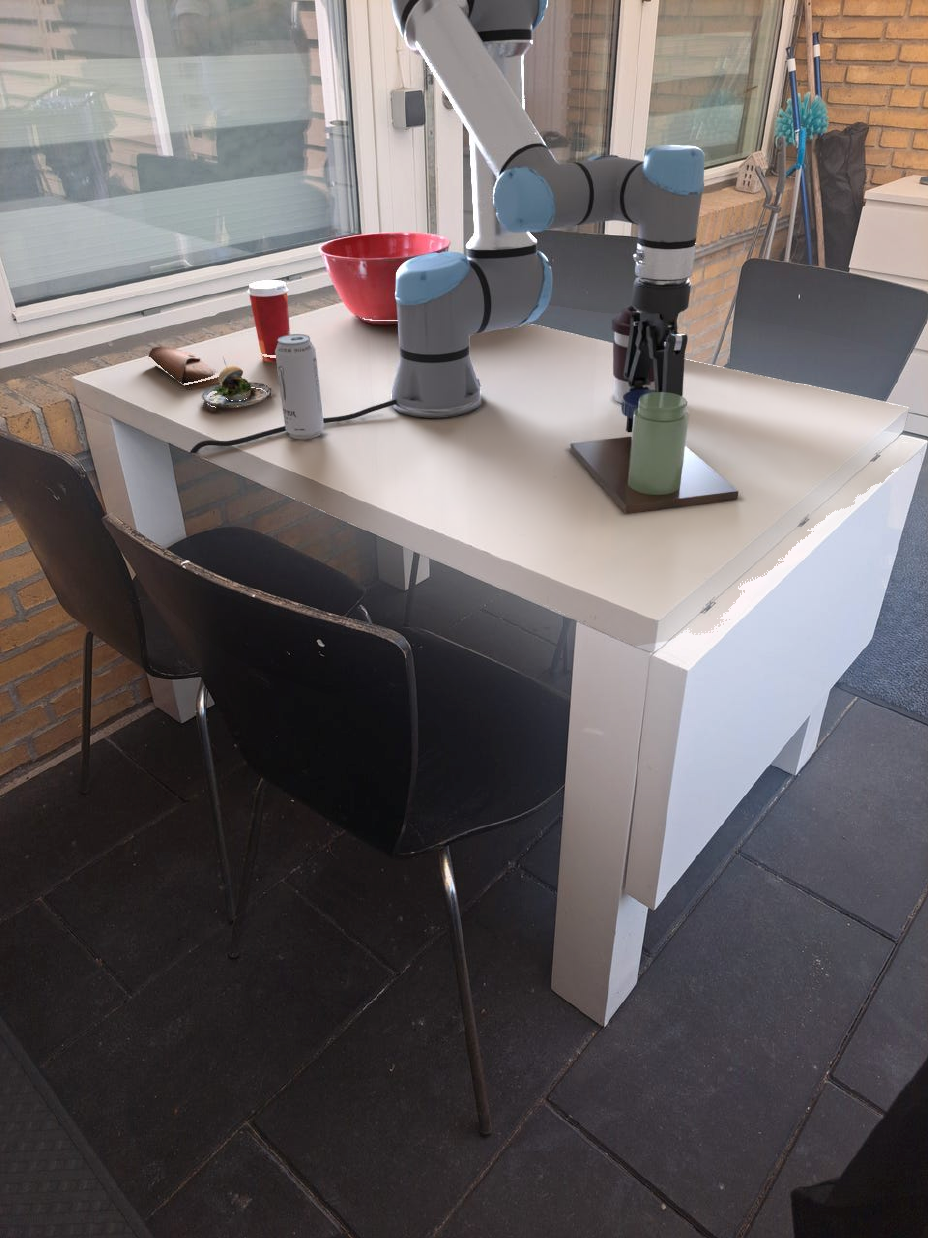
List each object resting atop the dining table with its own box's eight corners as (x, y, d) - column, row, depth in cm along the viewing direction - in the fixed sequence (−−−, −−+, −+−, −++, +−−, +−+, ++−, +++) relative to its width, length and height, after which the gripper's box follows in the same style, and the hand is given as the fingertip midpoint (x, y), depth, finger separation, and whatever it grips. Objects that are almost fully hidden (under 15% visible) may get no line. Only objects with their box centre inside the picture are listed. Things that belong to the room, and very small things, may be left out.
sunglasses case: (228, 378, 165) (205, 350, 160) (200, 404, 164) (176, 377, 159) (190, 356, 177) (168, 329, 172) (164, 380, 176) (141, 354, 171)
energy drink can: (282, 430, 144) (269, 336, 136) (318, 424, 146) (308, 330, 138) (291, 443, 139) (278, 346, 131) (329, 436, 141) (318, 340, 133)
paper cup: (304, 355, 177) (296, 281, 170) (278, 366, 172) (268, 290, 164) (275, 350, 181) (265, 277, 173) (248, 360, 176) (237, 285, 168)
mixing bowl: (309, 332, 191) (300, 255, 183) (346, 299, 215) (339, 229, 206) (439, 336, 187) (436, 257, 179) (462, 301, 211) (460, 231, 202)
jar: (639, 498, 118) (648, 411, 112) (619, 476, 124) (626, 393, 117) (689, 491, 119) (700, 406, 113) (667, 471, 125) (676, 388, 119)
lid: (678, 405, 131) (679, 391, 130) (672, 424, 125) (674, 409, 124) (625, 400, 133) (626, 386, 132) (617, 418, 127) (618, 404, 126)
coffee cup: (671, 394, 155) (681, 304, 147) (656, 413, 147) (666, 319, 139) (616, 387, 158) (622, 299, 150) (598, 405, 151) (604, 314, 143)
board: (625, 513, 117) (626, 505, 116) (569, 450, 135) (570, 443, 134) (737, 499, 120) (739, 491, 119) (668, 439, 138) (669, 431, 137)
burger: (209, 418, 149) (201, 374, 145) (197, 397, 158) (189, 354, 154) (280, 407, 153) (274, 364, 149) (264, 387, 162) (259, 345, 158)
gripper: (608, 263, 126) (597, 418, 139) (668, 298, 110) (650, 471, 122) (657, 260, 128) (642, 414, 140) (724, 293, 111) (700, 465, 124)
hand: (646, 440), depth 131 cm, fingers closed on lid, 7 cm apart
